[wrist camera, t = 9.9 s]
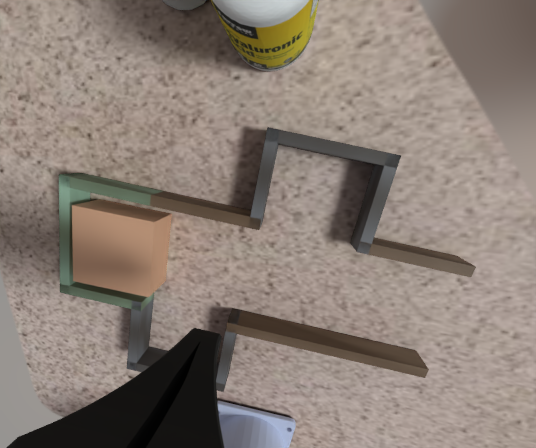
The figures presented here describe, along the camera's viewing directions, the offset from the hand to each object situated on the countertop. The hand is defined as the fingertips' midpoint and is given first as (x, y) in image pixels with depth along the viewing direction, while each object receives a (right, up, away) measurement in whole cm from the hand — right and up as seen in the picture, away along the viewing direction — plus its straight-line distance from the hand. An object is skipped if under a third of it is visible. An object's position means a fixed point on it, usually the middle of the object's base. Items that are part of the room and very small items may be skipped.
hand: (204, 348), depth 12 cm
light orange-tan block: (-8, +5, +10) cm, 13 cm away
